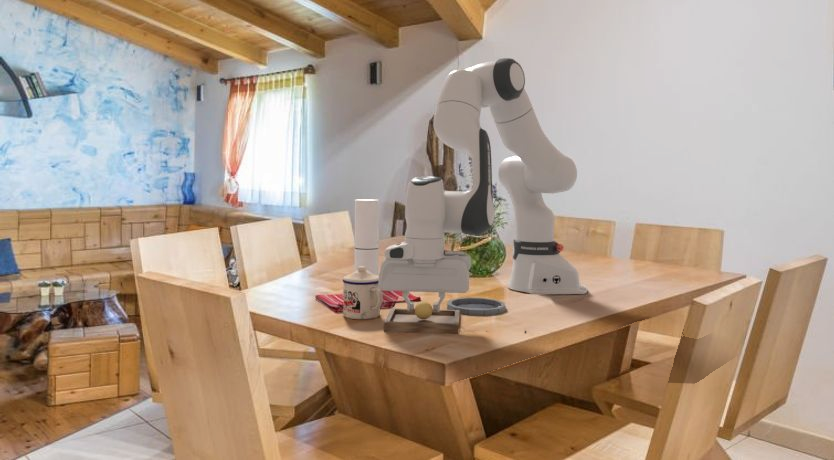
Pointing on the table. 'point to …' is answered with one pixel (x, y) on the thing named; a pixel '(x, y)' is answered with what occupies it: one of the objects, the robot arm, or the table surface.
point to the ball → (423, 310)
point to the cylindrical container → (366, 235)
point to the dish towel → (389, 301)
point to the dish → (476, 306)
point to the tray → (422, 322)
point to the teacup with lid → (361, 295)
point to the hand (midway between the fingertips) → (423, 311)
